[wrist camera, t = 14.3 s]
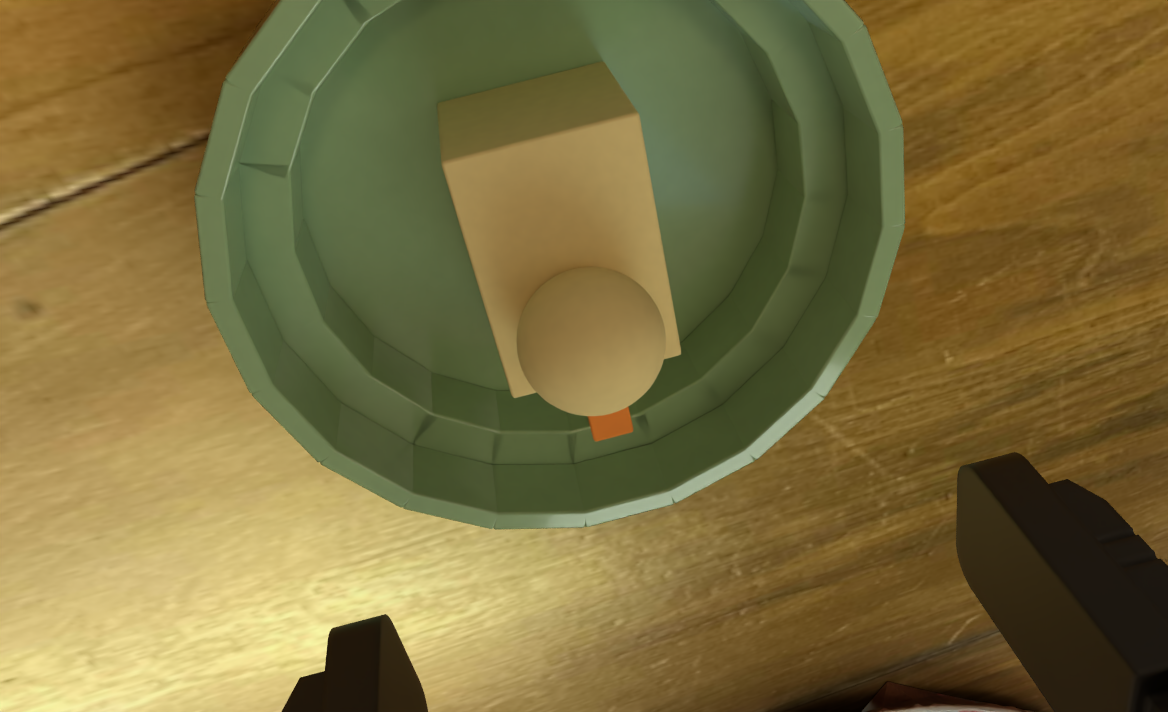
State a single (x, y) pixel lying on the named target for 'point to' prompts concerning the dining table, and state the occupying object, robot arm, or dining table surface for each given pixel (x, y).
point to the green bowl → (445, 274)
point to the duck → (563, 239)
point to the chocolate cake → (927, 702)
